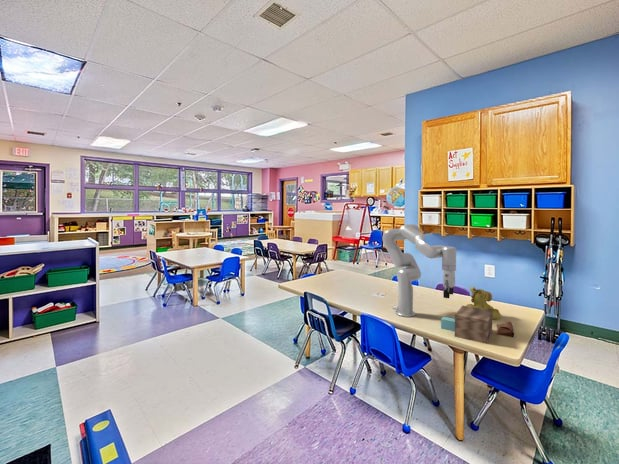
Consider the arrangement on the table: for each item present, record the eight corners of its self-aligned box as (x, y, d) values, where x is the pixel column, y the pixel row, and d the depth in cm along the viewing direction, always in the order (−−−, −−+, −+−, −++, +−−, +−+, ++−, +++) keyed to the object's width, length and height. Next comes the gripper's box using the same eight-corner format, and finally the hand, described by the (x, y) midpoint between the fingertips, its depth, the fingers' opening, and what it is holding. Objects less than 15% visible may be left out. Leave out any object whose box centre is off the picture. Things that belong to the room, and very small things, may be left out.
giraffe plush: (505, 317, 199) (506, 288, 198) (487, 324, 186) (488, 294, 184) (473, 308, 216) (474, 282, 214) (455, 315, 203) (456, 287, 201)
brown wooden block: (454, 336, 169) (455, 314, 168) (461, 325, 185) (462, 305, 184) (487, 343, 160) (488, 320, 159) (492, 331, 175) (492, 310, 174)
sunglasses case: (495, 323, 187) (502, 315, 184) (507, 331, 184) (514, 323, 182) (496, 334, 171) (504, 325, 169) (509, 343, 168) (516, 334, 166)
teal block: (440, 328, 181) (441, 319, 180) (443, 326, 185) (443, 316, 184) (466, 334, 172) (467, 324, 172) (468, 331, 176) (468, 321, 176)
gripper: (452, 270, 169) (451, 300, 170) (458, 265, 183) (458, 293, 184) (438, 269, 173) (437, 298, 175) (445, 264, 187) (445, 291, 188)
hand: (448, 296), depth 179 cm, fingers open, 9 cm apart
